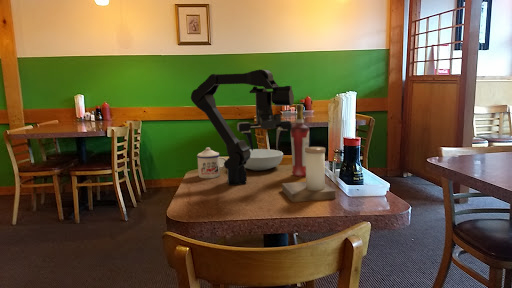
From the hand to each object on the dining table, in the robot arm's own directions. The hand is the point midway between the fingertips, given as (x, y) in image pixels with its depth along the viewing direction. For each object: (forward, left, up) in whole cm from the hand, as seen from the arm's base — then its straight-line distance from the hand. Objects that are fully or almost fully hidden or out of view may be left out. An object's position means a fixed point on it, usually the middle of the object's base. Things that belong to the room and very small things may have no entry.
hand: (264, 149), depth 132 cm
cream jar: (+13, -17, -10) cm, 24 cm away
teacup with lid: (-18, +20, -13) cm, 30 cm away
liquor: (+16, +10, -13) cm, 23 cm away
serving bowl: (+3, +28, -13) cm, 31 cm away
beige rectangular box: (+11, -15, -13) cm, 23 cm away
